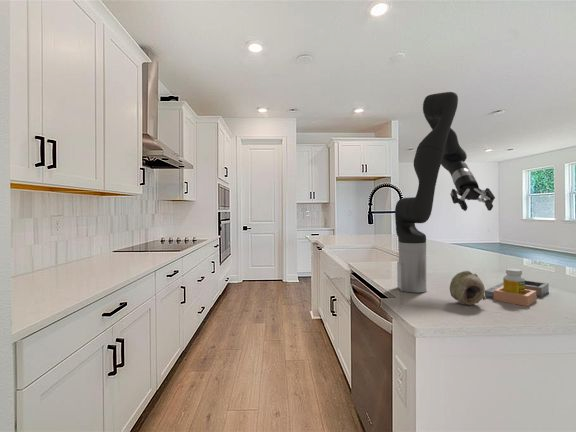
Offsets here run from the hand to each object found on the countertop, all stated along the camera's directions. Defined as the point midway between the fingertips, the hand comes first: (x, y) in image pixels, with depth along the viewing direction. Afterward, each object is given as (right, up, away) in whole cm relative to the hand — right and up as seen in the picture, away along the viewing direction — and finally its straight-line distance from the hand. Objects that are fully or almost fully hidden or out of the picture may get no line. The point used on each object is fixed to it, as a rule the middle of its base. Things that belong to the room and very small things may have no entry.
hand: (478, 209), depth 110 cm
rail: (+5, -29, -12) cm, 32 cm away
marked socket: (0, -29, -18) cm, 34 cm away
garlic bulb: (-17, -30, -21) cm, 40 cm away
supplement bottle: (0, -29, -18) cm, 34 cm away
